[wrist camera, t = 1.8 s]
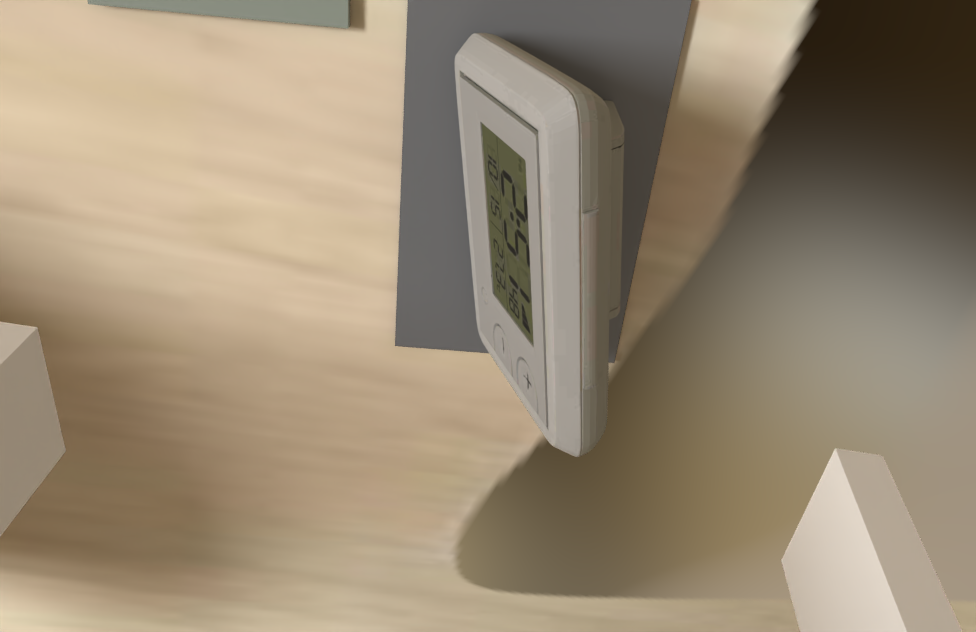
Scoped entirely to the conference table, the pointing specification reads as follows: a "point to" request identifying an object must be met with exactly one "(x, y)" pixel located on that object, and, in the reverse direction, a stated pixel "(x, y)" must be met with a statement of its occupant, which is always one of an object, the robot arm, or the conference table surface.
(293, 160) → the conference table surface
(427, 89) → the gray plate
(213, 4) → the side mat
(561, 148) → the digital clock
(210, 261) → the conference table surface
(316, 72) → the conference table surface
